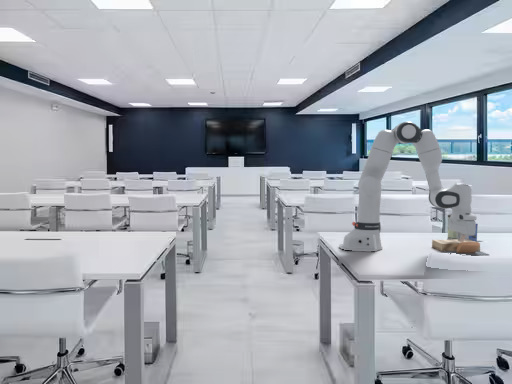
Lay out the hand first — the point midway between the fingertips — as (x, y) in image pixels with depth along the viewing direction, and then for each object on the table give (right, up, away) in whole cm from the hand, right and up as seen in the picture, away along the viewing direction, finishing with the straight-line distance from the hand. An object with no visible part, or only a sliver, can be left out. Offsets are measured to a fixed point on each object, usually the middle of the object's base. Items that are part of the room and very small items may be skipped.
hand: (460, 241), depth 215 cm
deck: (0, -5, +5) cm, 7 cm away
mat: (0, -5, -5) cm, 7 cm away
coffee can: (+15, -3, +35) cm, 38 cm away
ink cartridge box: (+12, -4, +18) cm, 22 cm away
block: (0, -2, -6) cm, 6 cm away
